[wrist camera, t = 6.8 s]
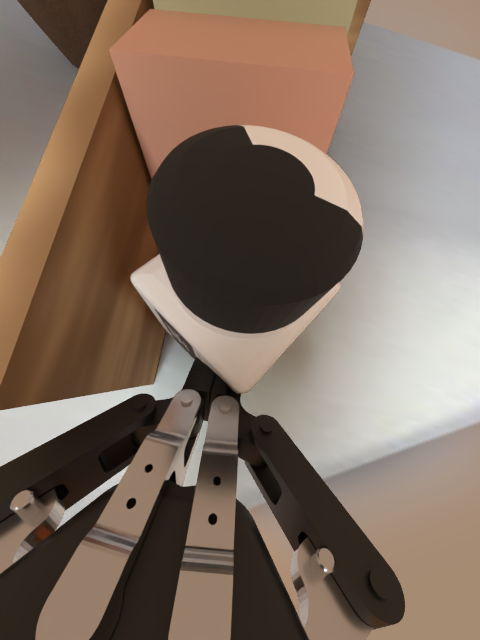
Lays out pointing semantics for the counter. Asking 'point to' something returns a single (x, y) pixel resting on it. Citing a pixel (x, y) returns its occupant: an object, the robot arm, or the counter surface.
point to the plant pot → (67, 23)
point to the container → (246, 245)
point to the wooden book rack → (85, 243)
